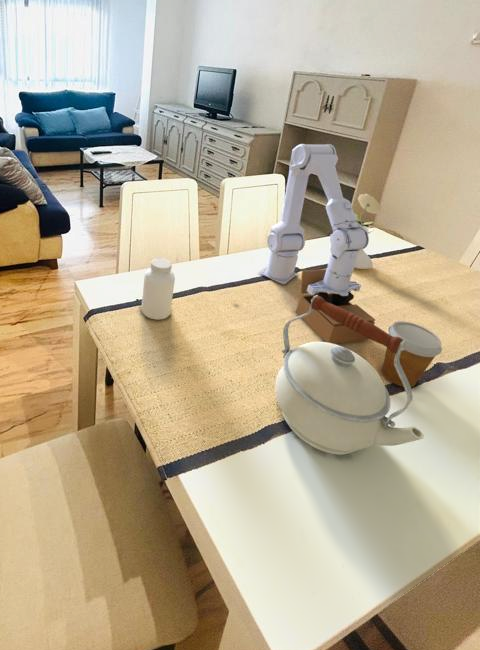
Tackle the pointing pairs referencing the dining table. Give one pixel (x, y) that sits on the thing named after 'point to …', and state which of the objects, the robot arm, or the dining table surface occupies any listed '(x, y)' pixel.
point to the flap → (311, 278)
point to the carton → (332, 322)
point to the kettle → (340, 390)
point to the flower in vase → (366, 228)
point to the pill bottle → (158, 289)
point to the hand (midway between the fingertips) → (325, 313)
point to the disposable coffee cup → (411, 352)
